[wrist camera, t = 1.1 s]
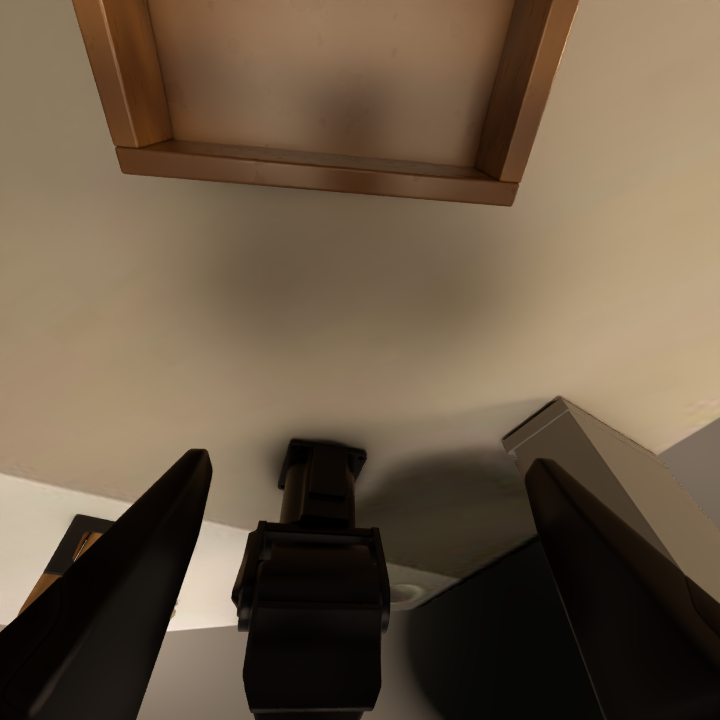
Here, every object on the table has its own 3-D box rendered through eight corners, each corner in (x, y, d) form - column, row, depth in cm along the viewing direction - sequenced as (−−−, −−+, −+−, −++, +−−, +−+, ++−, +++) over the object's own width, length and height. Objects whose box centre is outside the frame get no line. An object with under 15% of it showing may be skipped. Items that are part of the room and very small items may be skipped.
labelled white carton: (498, 440, 29) (820, 1171, 9) (559, 394, 26) (1218, 1323, 6) (596, 488, 34) (942, 1034, 14) (656, 454, 31) (1199, 1084, 11)
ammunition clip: (74, 522, 35) (-28, 686, 25) (76, 514, 34) (-30, 680, 24) (185, 545, 38) (133, 696, 29) (190, 538, 37) (137, 691, 28)
